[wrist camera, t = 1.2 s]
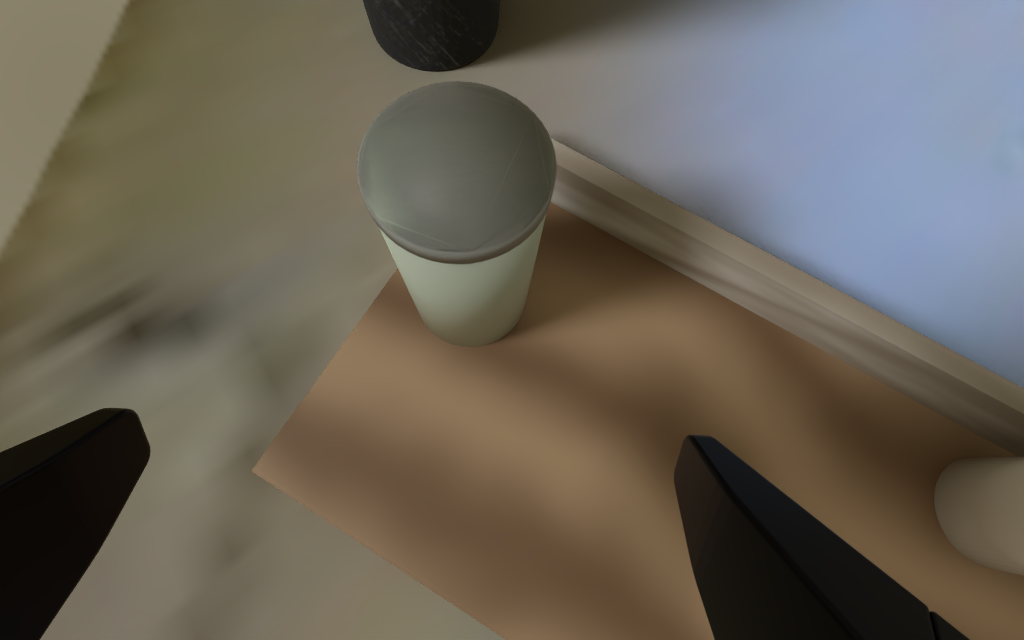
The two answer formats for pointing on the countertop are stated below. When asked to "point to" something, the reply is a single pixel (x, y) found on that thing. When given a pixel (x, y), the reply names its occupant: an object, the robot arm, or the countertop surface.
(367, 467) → the shelf board
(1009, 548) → the salt jar
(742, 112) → the countertop surface
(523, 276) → the tea tin
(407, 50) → the travel mug
